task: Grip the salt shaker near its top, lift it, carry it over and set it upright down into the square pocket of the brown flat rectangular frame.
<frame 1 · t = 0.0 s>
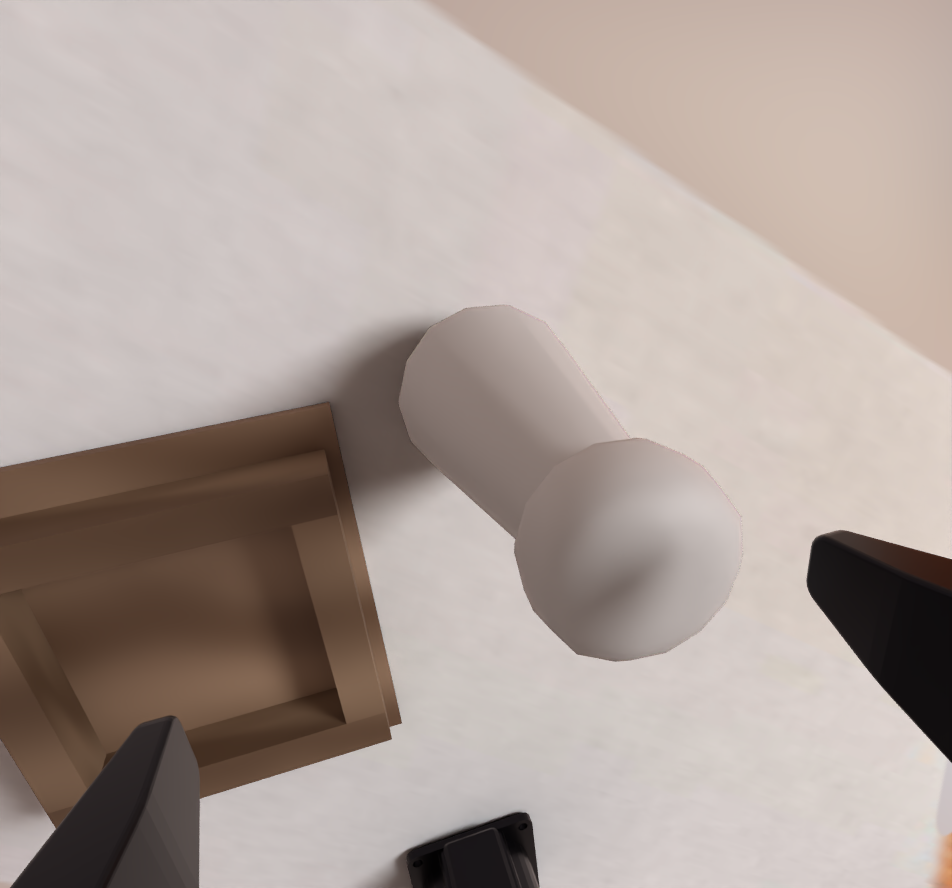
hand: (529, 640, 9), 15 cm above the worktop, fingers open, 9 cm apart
salt shaker: (468, 372, 23), on the worktop
brown flat rectangular frame: (195, 624, 24), on the worktop
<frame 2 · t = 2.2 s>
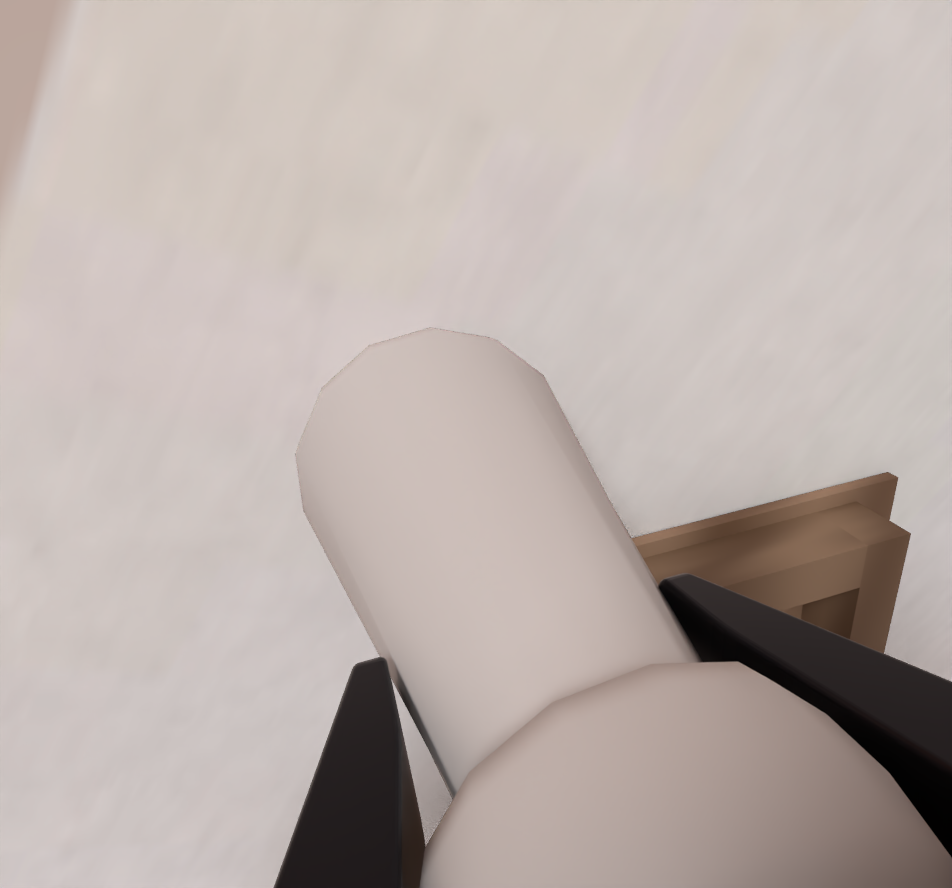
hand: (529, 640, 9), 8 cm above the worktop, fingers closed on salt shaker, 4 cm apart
salt shaker: (415, 421, 16), on the worktop, touching gripper
brown flat rectangular frame: (675, 683, 22), on the worktop
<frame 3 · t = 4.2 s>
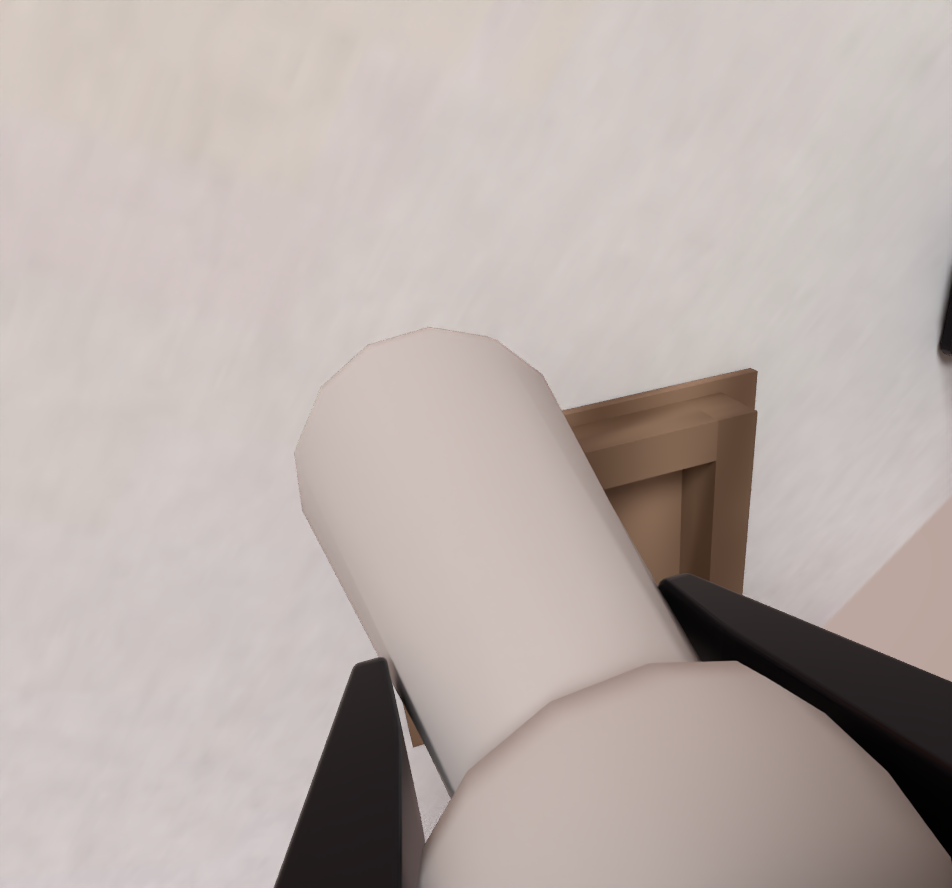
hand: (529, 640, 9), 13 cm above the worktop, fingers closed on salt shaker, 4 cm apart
salt shaker: (414, 420, 16), point 4 cm above the worktop, touching gripper
brown flat rectangular frame: (572, 563, 25), on the worktop
when the fingers open (9 cm above the worktop, at t = 6.6 s): salt shaker stays where it is, resting on brown flat rectangular frame.
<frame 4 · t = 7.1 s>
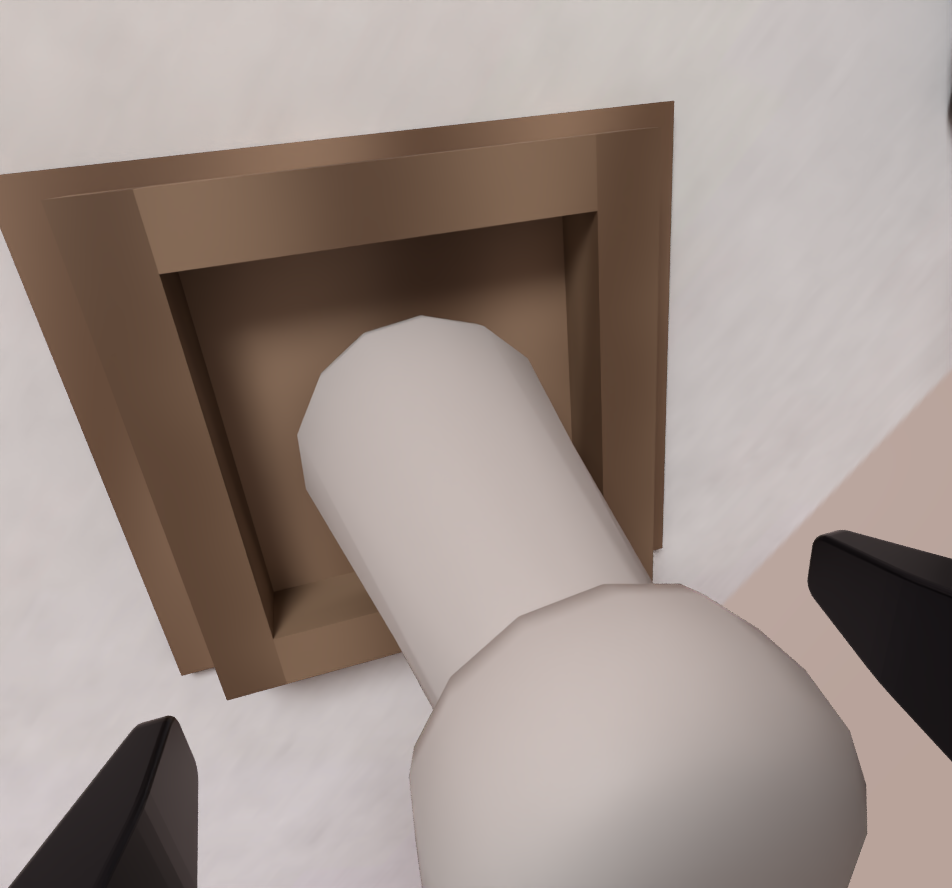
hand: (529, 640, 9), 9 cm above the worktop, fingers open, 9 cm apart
salt shaker: (410, 406, 17), resting on brown flat rectangular frame
brown flat rectangular frame: (406, 405, 17), on the worktop
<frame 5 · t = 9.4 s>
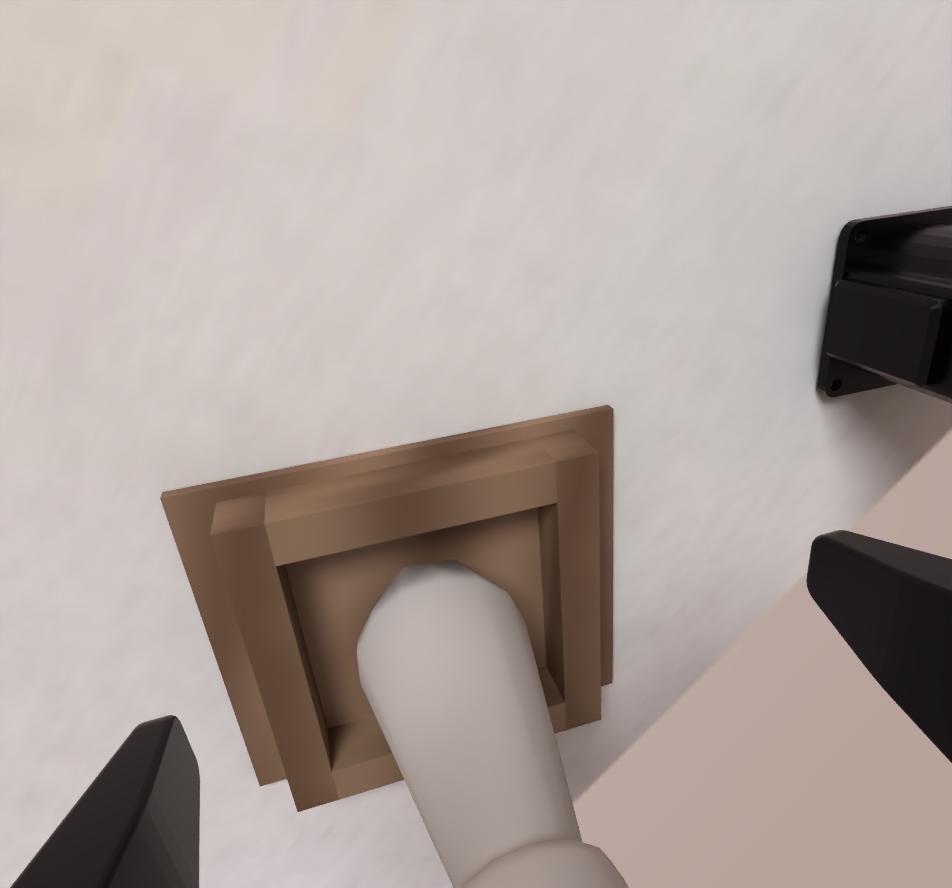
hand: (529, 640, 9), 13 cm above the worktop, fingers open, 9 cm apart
salt shaker: (428, 602, 24), resting on brown flat rectangular frame
brown flat rectangular frame: (425, 600, 24), on the worktop
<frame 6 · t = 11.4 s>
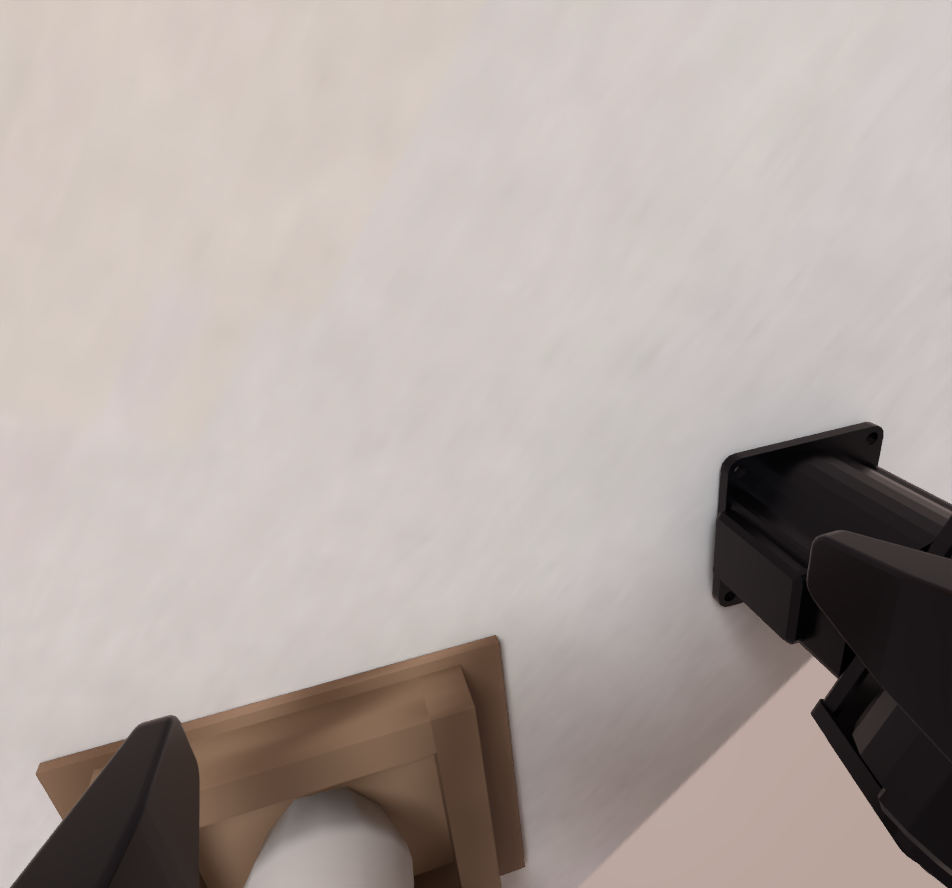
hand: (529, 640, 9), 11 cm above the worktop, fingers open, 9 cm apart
salt shaker: (325, 822, 24), resting on brown flat rectangular frame
brown flat rectangular frame: (323, 819, 24), on the worktop
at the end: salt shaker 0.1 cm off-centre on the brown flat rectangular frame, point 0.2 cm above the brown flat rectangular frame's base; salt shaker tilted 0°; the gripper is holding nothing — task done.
